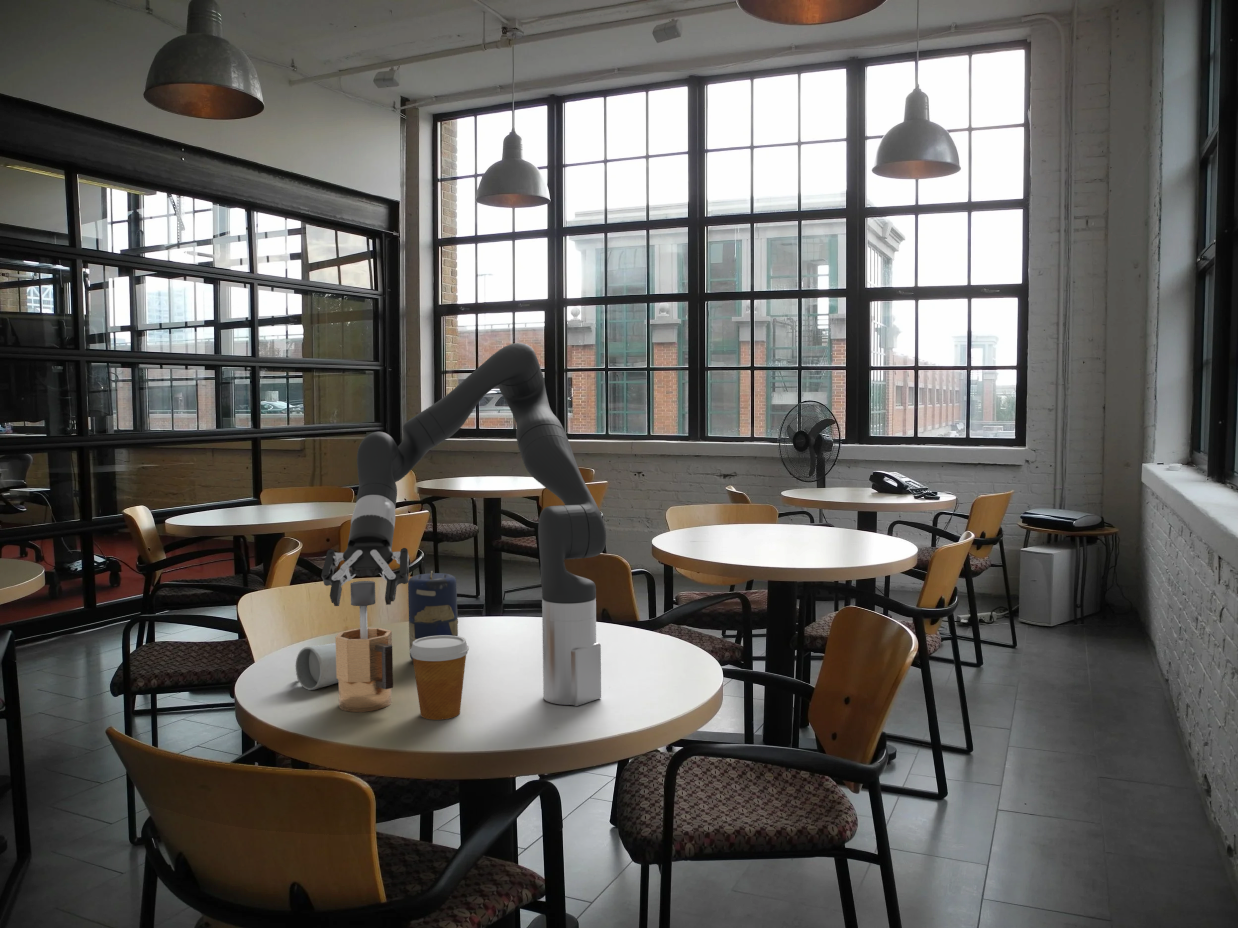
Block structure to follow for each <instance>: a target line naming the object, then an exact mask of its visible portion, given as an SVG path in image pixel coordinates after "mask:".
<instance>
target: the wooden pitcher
mask: <svg viewBox="0 0 1238 928" xmlns="http://www.w3.org/2000/svg"><path fill="white" fill-rule="evenodd" d="M367 629H368V639H360V627H358V628H355V629H354V628H353V629H349V630H345V631H340V632H338V634H337V635H336V636H335V643H336V676H337V679H338V683H337V684H338V707H339V709H340V710H342V711H346V712H350V713H353V712H354V713H365V712H367V713H368V712H373V711H378V710H381V709H384V708H385V709H386V708H387V707H389V706H390V705H391V704H392V689H393V688H394V668H393V667H394V664H393V663H394V662H393V661H394V660H393V642H392V640H393V639H392V638H393V636H392V635H393V633H392V632H393V631H392V630H389V629H386V628H385V629H384V628H383V627H382V628H381V627H367Z"/></svg>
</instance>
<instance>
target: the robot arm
mask: <svg viewBox="0 0 1238 928" xmlns="http://www.w3.org/2000/svg"><path fill="white" fill-rule="evenodd" d="M539 362H540V361H539V360H538V357H537V354H536V352H535V350H534V349H533V347H532V346H530V345H529V344H526V343H523V342H514V343H510V344H507V345H506V346H503V347H502V348H500V349H498V350H497V351H496V352H494V353H493V354H492V355H491V356H490V357H489V358H487V360H485V361H484V362H482V364H481V365H479V366H478V367H477V368H476V369H475V370H473V372H471V373H470V374H469V375H468V376H467V377H466V378H465V379H464V380H463V381H461V383H459V384H458V385H457V386H455V388H453V389H452V390H451V391H450V392H449V393H447V394H446V395H445V396H444V397H442V398H441V399H440V400H438V401H436V402H435V403H433V404H432V405H430V406H429V407H427V408H426V409H424V410H423V411H420V412H419V413H418V414H416V415H415V416H413V417H411V418H410V419H409V420H407V421H406V422H405V423H404V424H403V426H402V431H403V433H402V434H403V440H402V441H401V442H400V443H399V445H397V443H396V441H395V440H394V438H393V437H392V436H391V435H390V434H388V433H386V432H383V431H374V432H372V433H369V434H367V435H366V436H365V437H364V438H363V439H362V440H361V442H360V444H359V446H358V449H357V453H356V466H357V478H358V491H357V494H356V500H355V501H356V502H355V506H354V509H353V512H352V516H351V519H350V529H349V534H348V535H349V536H348V541H347V547H346V549H345V550H344V552H335V550H334V549H328V550H327V552H326V556H325V559H324V563H323V568H322V570H321V571H322V572H321V575H320V576H321V578H322V582H323V585H324V586H325V587H328V586H331V587H330V592H329V598H330V602H331V603H332V604H333V606H334V607H340V603H341V602H340V601H341V599H342V598H341V596H342V590H343V587H342V586H344V585H345V584H346V583H347V582H350V581H351V580H352V579H353V578H355V576H357V577H365V576H368V577H377V575H380V576H381V578H382V579H383V580H384V581H385V582H386V585H385V586H386V587H385V595H384V601H385V605H386V606H390V605H392V602H395V600H396V595H397V588H398V586H399V585H401V584H403V585H406V584H407V585H408V581H409V579H410V578H409V573H410V556H409V550H408V548H406V547H401V549H400V550H399V551H393V541H394V533H395V524H396V505H397V499H398V488H397V482H398V481H400V480H402V479H403V478H405V476H407V475H408V474H409V473H410V472H411V470H413V468H415V467H416V465H417V464H418V463H420V461H421V460H423V459H422V458H424V456H425V455H426V454H427V453H428V452H430V450H432V449H434V448H435V447H437V446H438V445H440V444H441V443H443V442H444V441H446V440H447V439H449V438H451V437H453V436H454V434H456V433H457V432H458V431H459V430H460V429H461V428H462V426H464V424H465V423H466V421H467V420H468V418H469V417H470V416H471V414H472V412H473V411H474V410H475V408H476V407H477V405H478V404H479V403H480V401H481V400H482V399H483V398H484V397H485V396H486V395H487V394H488V393H489V392H491V391H492V390H493V389H495V388H496V387H498V389H499V391H500V393H501V395H502V397H503V399H504V400H505V402H506V405H507V406H508V408H509V410H510V412H511V414H512V416H513V418H514V421H515V425H516V427H515V429H516V430H515V432H516V433H515V437H516V443H517V446H518V450H519V453H520V456H521V459H522V463H523V464H524V468H525V469H526V471H527V472H528V474H529V475H530V476H531V477H532V478H534V480H535V481H536V482H538V484H540V485H542V487H544V488H545V489H547V490H548V491H550V493H552V494H554V495H555V496H556V497H557V498H558V499H560V500H561V502H562V503H563V504H562V505H561V504H560V505H551V506H550V505H549V506H546V507H544V508H543V509H542V510H541V512H540V514H539V518H538V525H537V526H538V531H537V532H538V533H537V534H538V547H539V560H540V561H539V562H540V583H541V596H542V597H541V598H542V599H541V601H542V602H541V607H542V609H541V610H542V611H541V612H542V619H541V620H542V624H541V625H542V690H543V691H542V695H543V700H544V701H546V702H548V703H550V704H556V705H565V706H566V705H568V706H569V705H571V706H576V707H577V706H578V707H579V706H581V705H583V704H584V705H585V704H587V703H590V702H593V701H595V700H599V699H602V663H601V662H602V656H601V655H602V650H601V649H602V646H601V643H600V642H597V601H596V600H597V588H596V587H597V586H596V583H595V581H593V580H592V579H589V578H586V577H584V576H579V575H576V574H574V573H572V572H570V571H568V569H566V565H565V560H575V559H586V558H593V557H597V556H600V555H601V554H602V553H603V551H604V549H605V547H606V546H607V545H606V542H607V532H606V531H607V530H606V526H605V521H604V518H603V516H602V513H601V511H600V509H599V507H598V504H597V503H596V501H595V499H594V497H593V495H592V494H591V491H590V489H589V487H588V486H587V484H586V482H585V480H584V478H583V476H582V473H581V471H580V468H579V466H578V464H577V461H576V458H575V455H574V451H573V450H572V446H571V443H570V441H569V439H568V435H567V433H566V431H565V428H564V427H563V425H562V423H561V421H560V420H559V418H558V417H557V416H556V415H555V414H554V413H553V411H552V409H551V407H550V403H549V398H548V395H547V394H548V393H547V390H546V383H545V378H544V374H543V372H542V369H541V366H540V363H539ZM394 560H396V564H398V565H399V572H398V573H395V572H394V571H393V570H392V569H391V567H390V566H389V565H390V564H391V563H392V562H393V561H394ZM341 561H343V562H344V563H343V564H341V565H340V568H339V569H338V570H337V571H336V572H335V569H336V567H338V566H339V564H340V563H341ZM334 572H335V573H334Z"/></svg>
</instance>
